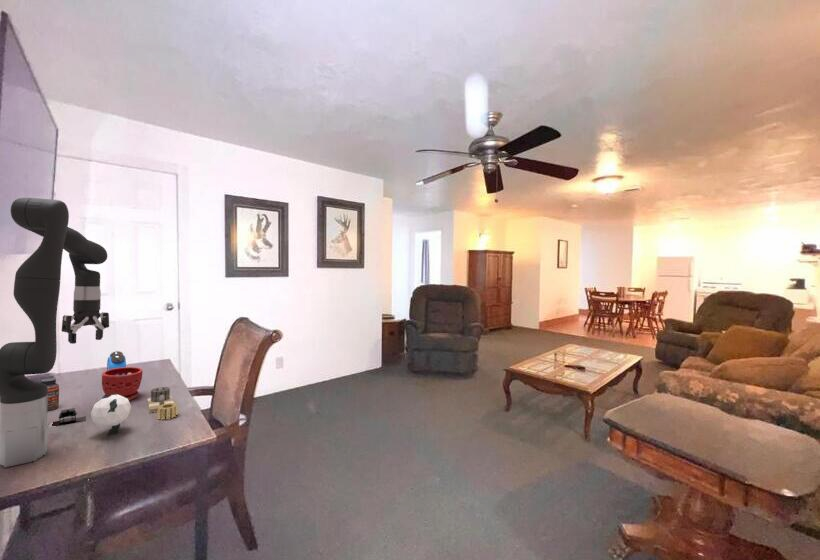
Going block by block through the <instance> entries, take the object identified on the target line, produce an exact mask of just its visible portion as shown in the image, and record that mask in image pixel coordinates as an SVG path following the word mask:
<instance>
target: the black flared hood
mask: <svg viewBox="0 0 820 560" xmlns="http://www.w3.org/2000/svg"><path fill="white" fill-rule="evenodd" d="M77 414H78V412H77V410H76V408H75V407H73V408H67V409H62V410H60V413H59V415H58V420H55V422H54V421H52V422H53V424H52V426H56V427H60V426H68V425H71V424H76V423H77V424H78V423H83V422H86V421H87V415H85V416H78V415H77ZM69 417H70V418H69Z"/></svg>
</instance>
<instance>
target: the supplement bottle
mask: <svg viewBox="0 0 820 560" xmlns="http://www.w3.org/2000/svg"><path fill="white" fill-rule="evenodd" d="M40 383H43V384H45V385H47V387H48V403H47V412H48V411H53V410H56V409H58V408H59V402H60V385H59V384H58V382H57V379H56V378H54V377H51V378H50V377H48V378H44V379H41V381H40Z"/></svg>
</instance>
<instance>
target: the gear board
mask: <svg viewBox="0 0 820 560" xmlns="http://www.w3.org/2000/svg"><path fill="white" fill-rule="evenodd" d="M170 389H171V388H170V387H169V386H160V387H155V388H152V389H151V390H150V397H148V398H147V399H146V400H147V401H148V402H147V401H146V402H147V407H148V411H149V412H150V413H149V414H153V413H152V412H154V413H157V407H158V406H160V405H162V404H166V403H175V402H174V399H173V396H172V394H171V393H170V392H171V390H170Z"/></svg>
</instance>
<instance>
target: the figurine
mask: <svg viewBox="0 0 820 560" xmlns="http://www.w3.org/2000/svg"><path fill="white" fill-rule="evenodd" d="M103 396H104V395H103ZM103 396H102V398H101V399H99V400H98V401H97V402H95V403H94V405H93V408H91V409H92V410H91V412H90V416H91V419H92V422H93V424H95V425H98V426H100V427H102V428H109V427H111V428H110V429H108V431H107V437H109V436H112V435H116V433H117V434H119V430H118V429H120V426H121V423H122V422H124V421H125V420H126V419H127V418H129V414H130V412H131V410H132V406H131V403H130V400H128V399H127V398H125V397H123V396H120V395H118V394H117V393H115V394H112V395H109V394H107V396H104V397H103ZM111 431H112V432H111Z"/></svg>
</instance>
